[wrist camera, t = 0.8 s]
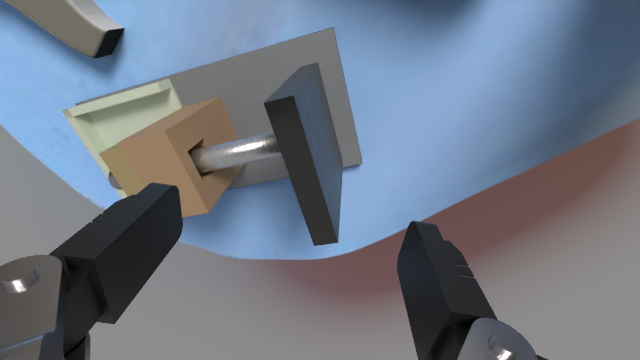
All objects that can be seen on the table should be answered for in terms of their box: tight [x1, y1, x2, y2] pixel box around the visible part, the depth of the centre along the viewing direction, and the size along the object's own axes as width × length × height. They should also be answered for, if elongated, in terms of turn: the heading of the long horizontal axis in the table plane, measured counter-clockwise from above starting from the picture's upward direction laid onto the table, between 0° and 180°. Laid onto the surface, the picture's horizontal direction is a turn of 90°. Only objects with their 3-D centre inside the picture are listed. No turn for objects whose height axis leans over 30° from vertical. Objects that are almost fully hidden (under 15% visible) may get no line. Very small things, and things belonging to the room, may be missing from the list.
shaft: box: [108, 62, 343, 246], centre depth 22 cm, size 19×9×11 cm, turn 105°
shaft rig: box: [61, 27, 362, 217], centre depth 26 cm, size 28×13×11 cm, turn 105°
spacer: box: [99, 144, 145, 196], centre depth 25 cm, size 2×6×6 cm, turn 15°
